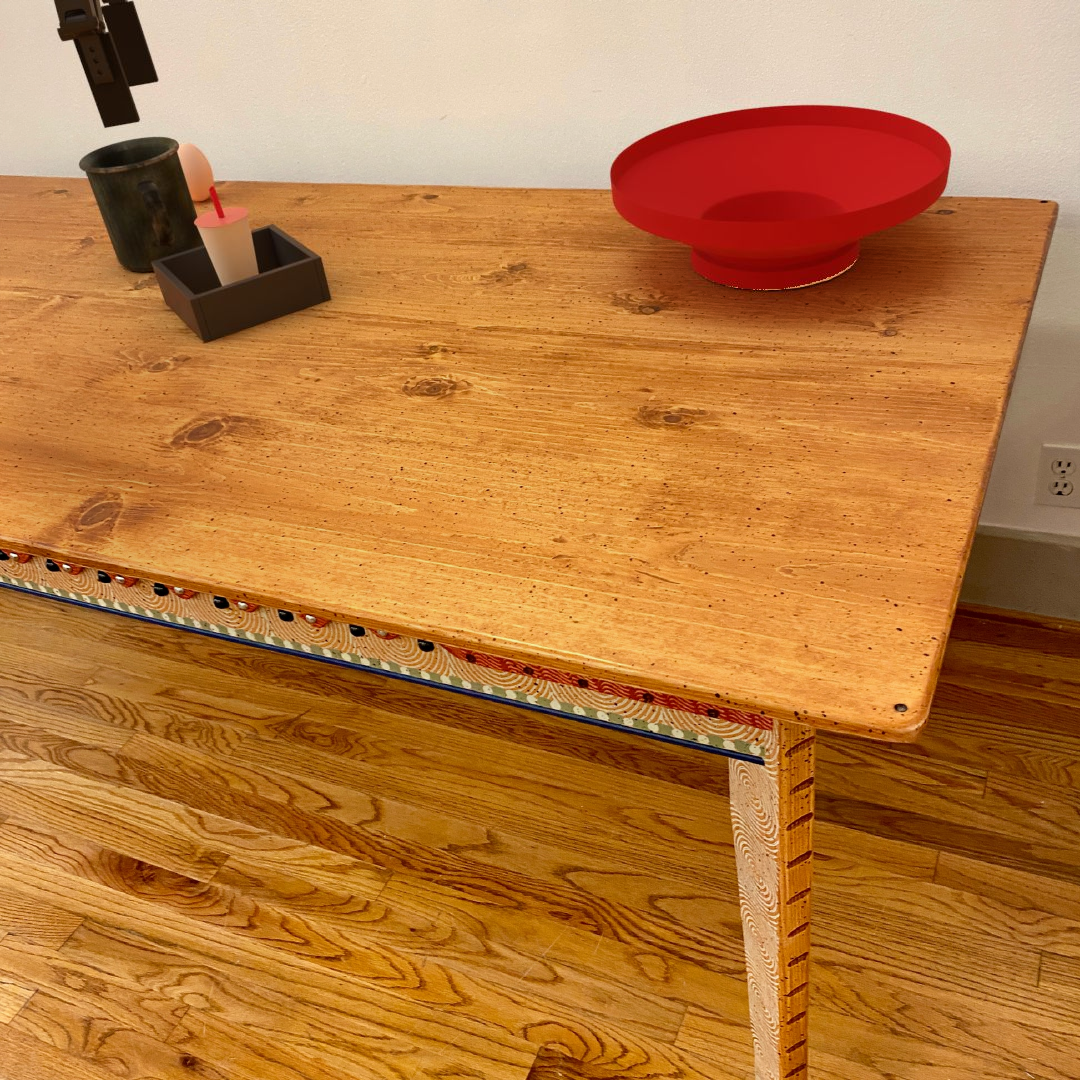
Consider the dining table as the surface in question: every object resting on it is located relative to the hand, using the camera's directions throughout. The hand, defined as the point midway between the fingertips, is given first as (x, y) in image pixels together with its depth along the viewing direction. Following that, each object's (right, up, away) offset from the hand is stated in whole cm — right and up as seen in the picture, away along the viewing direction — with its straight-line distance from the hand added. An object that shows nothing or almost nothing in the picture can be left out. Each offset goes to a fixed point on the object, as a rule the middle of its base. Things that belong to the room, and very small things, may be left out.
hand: (133, 103), depth 91 cm
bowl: (+57, -9, +14) cm, 59 cm away
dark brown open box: (+4, -12, +22) cm, 25 cm away
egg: (-10, +8, +51) cm, 52 cm away
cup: (+4, -12, +22) cm, 25 cm away
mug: (-9, -5, +34) cm, 36 cm away
